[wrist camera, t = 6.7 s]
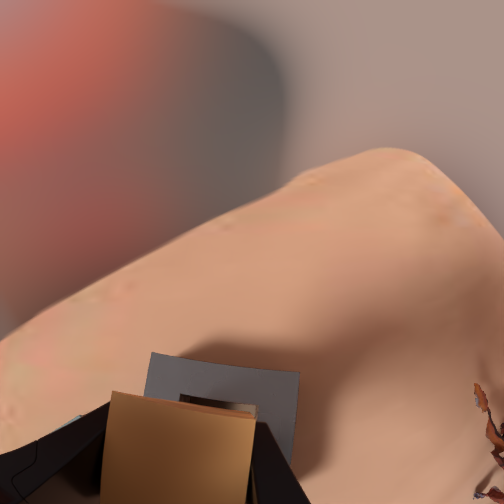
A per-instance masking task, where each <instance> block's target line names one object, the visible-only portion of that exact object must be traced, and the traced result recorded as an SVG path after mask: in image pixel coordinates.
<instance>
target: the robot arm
mask: <svg viewBox="0 0 504 504" xmlns="http://www.w3.org/2000/svg"><path fill="white" fill-rule="evenodd" d="M109 407H110V402H108V403H106V404H104V405H102V406H101V407H99V408H97V409H95V410H93V411H92V412H90V413H88V414H86V415H84V416H82V417H81V418H79V419H77V420H75V421H73V422H71V423H69V424H67V425H65V426H64V427H62V428H60V429H58V430H56V431H54V432H52V433H50V434H48V435H46V436H44V437H42V438H40V439H38V441H37V440H36V441H34V442H31V443H29V444H27V445H25V446H23V447H20V448H18V449H16V450H13V451H10V452H7V453H4V454H1V455H0V504H100V491H101V475H102V463H103V452H104V443H105V435H106V428H107V420H108V414H109ZM245 504H311V503H310V501H309V499H308V498H307V496H306V494H305V493H304V491H303V489H302V487H301V486H300V484H299V482H298V480H297V478H296V477H295V475H294V473H293V471H292V469H291V468H290V466H289V464H288V462H287V460H286V458H285V457H284V455H283V453H282V451H281V449H280V447H279V445H278V443H277V441H276V439H275V438H274V436H273V434H272V432H271V430H270V428H269V426H268V424H267V423H266V422H262V421H256V423H255V431H254V439H253V447H252V455H251V462H250V470H249V477H248V485H247V492H246V499H245Z"/></svg>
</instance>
